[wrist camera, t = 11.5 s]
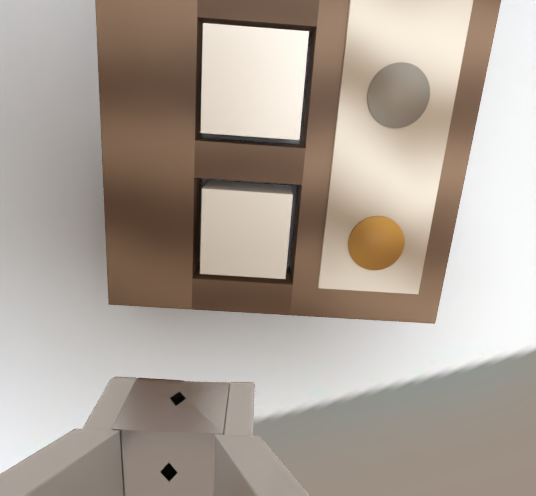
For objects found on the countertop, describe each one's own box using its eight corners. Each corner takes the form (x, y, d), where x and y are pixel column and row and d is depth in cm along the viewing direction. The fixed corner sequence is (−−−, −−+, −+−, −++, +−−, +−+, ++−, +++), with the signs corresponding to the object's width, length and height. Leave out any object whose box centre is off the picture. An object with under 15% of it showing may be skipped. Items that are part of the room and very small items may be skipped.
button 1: (208, 180, 27) (202, 188, 24) (289, 185, 27) (292, 194, 24) (206, 257, 28) (199, 273, 25) (283, 262, 28) (285, 279, 25)
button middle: (210, 33, 23) (202, 22, 20) (303, 41, 23) (309, 31, 20) (207, 130, 25) (200, 132, 22) (295, 136, 25) (299, 140, 22)
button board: (108, -205, 21) (79, -263, 18) (507, -167, 22) (550, -217, 19) (123, 285, 29) (105, 307, 26) (418, 303, 30) (438, 327, 26)
